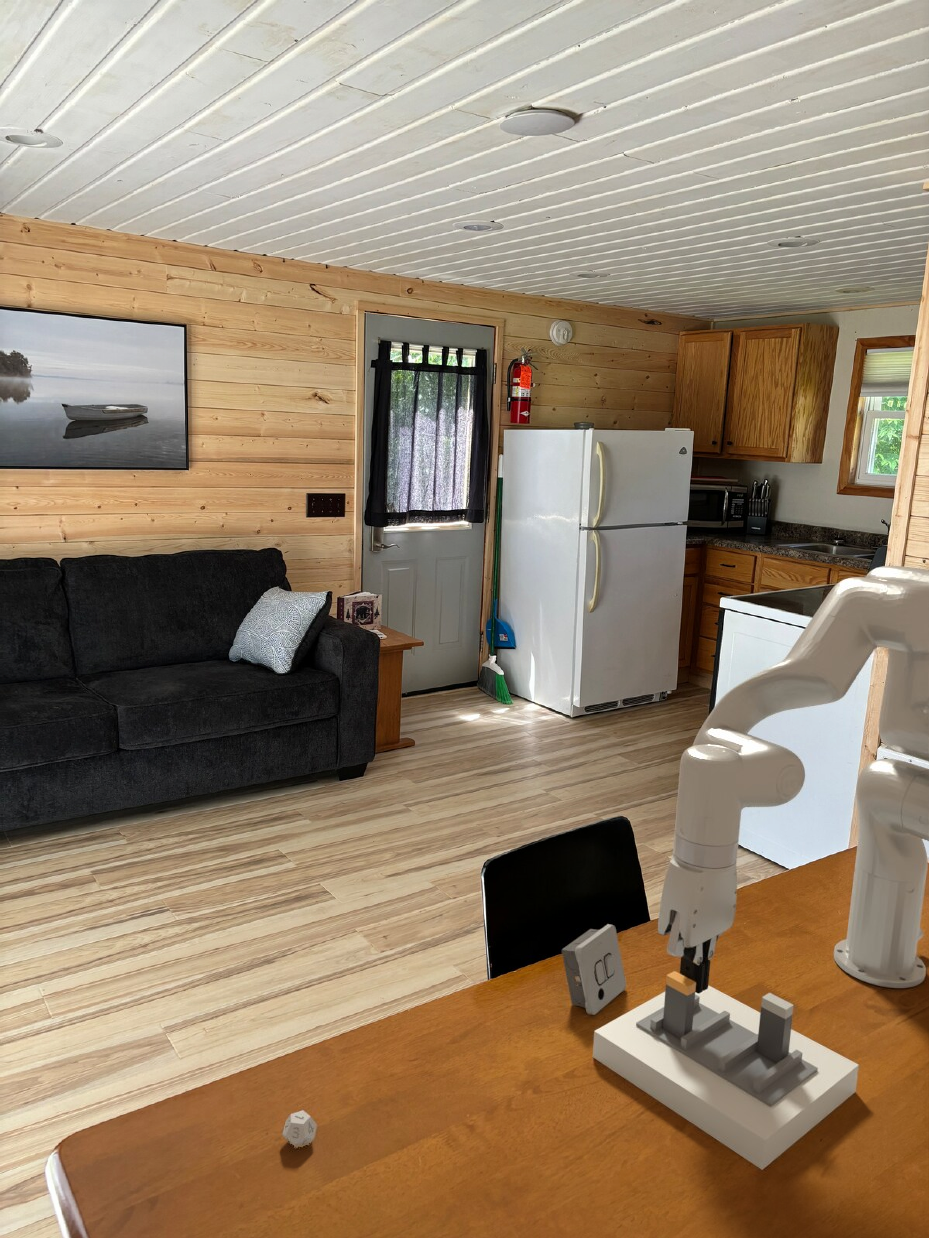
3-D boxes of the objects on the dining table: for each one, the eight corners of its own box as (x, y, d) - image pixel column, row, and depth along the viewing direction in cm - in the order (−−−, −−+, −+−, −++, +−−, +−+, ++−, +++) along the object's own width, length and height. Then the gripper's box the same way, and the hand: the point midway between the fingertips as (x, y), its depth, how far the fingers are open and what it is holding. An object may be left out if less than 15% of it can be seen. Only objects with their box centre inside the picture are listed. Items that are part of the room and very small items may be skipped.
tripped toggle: (670, 1023, 120) (674, 970, 119) (691, 1035, 118) (696, 982, 116) (662, 1028, 119) (666, 975, 118) (683, 1040, 117) (688, 986, 115)
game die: (295, 1125, 106) (295, 1101, 106) (323, 1136, 105) (323, 1112, 104) (276, 1146, 103) (275, 1121, 103) (304, 1158, 102) (304, 1133, 101)
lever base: (689, 1000, 133) (696, 924, 131) (855, 1091, 115) (865, 1005, 113) (592, 1056, 120) (597, 973, 118) (762, 1169, 102) (772, 1074, 100)
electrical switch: (592, 1018, 128) (590, 952, 127) (559, 1007, 131) (557, 942, 130) (627, 989, 135) (625, 926, 134) (595, 979, 138) (593, 917, 137)
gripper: (715, 823, 124) (703, 954, 127) (641, 852, 114) (630, 993, 117) (767, 843, 118) (753, 979, 121) (693, 875, 108) (681, 1022, 112)
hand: (693, 986), depth 119 cm, fingers closed
